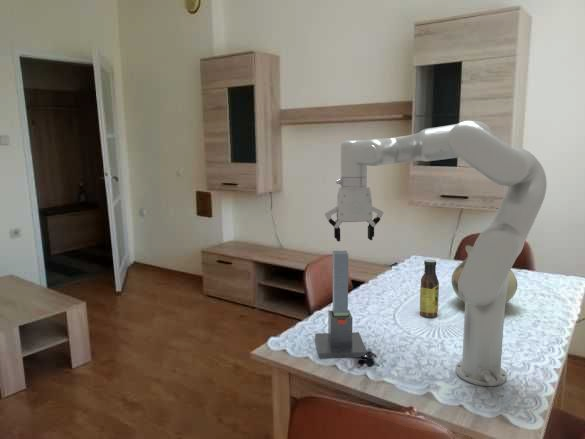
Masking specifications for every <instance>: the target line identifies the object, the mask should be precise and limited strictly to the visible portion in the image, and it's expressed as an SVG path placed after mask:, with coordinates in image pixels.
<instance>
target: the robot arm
mask: <svg viewBox="0 0 585 439" xmlns="http://www.w3.org/2000/svg"><path fill="white" fill-rule="evenodd" d="M492 133H493V132H492V130H491V128H490V127H489V126H488V125H487V124H486V123H484V122H482V121H480V120H479V121H478V120H469V119H468V120H462V121H460V122H458V123H455V124H449V125H443V126H437V127H428V128H424V129H422V130H420V131H419V132H417V133H413V134H409V135H404V136H403V135H402V136H396V137H390V138H389V137H388V138H371V139H365V140H363V139H350V140H349V139H348V140H344V141H342V142H341V144H340V178H337V179H335V184H336V185H340V187H338V191H337V199H336V206H335V207H334V208H332V209H330V210H328V211H326V212H325V213H324V216H325V217H326V220H327V221H328V223H329V224H330V225H331V226H333V227H334V228H333V232H334V234H333V236H334V239H336V241H337V242H341V228H340V226H341V225H342V224H343V223H361V222H363V223H365V222H367V223H368V225H367V239H368V240H369V241H373V238H374V237H375V228H376V225H378V223H379V222H380V220H381V219H382V217H383V215H384V211H382V210H381V209H379V208H377V207H374V206H373V202H372V201H373V199H372V192H371V187H369V186H368V166H369V167H379V166H385V165H386V166H387V165H393V164H399V163H400V164H402V163H409V162H417V161H419V162H421V161H422V162H432V161H433V162H434V161H440V160H448V159H449V160H450V159H458V158H460V159H461V160H463V162H465V163H466V164H468V165H469V166H470V167H472V168H473V169H475V170H476V171H477V172H479V173H480V174H482V176H484V177H486V178H487V179H489V180H490V181H492V182H493V183H495V184H496V185H497V184H498V185H500V186H505V187H507V188H506V192H505V194H504V196H503V198H502V200H501V202H500V205H499V207H498V209H497V212H496V213H495V216H494V218H493V219H492V222H490V225H489V226H487V227H486V228H485V229H484V230H482V232H481V233H480V234H479V235H478V237H477V238H476V240H475V242H474V244H473V248H472V250H471V252H470V255H469V257H468V259H467V261H466V263H465V266H464V268H463V270H462V272H461V274H460V277H459V280H458V289H459V293H460V295H461V296H462V298H463V299H464V300H465V301H466V303H465V306H464V315H463V316H464V318H463V319H464V320H463V335H462V336H463V338H462V339H463V340H462V354H461V356H462V358H461V361H459V362H458V363H457V364H455V373H456V374H457V376H458V377H459V378H460V379H462V380H464V381H465V382H467V383H470V384H473V385H476V386H483V387H496V386H499V385H502V384H504V383H505V382H506V381H507V379H508V378H507V377H508V375H507V372H506V371H505V370H504V368H502V355H503V354H502V353H503V340H504V338H503V337H504V336H503V335H504V325H505V324H504V322H505V310H506V304H505V302H506V295H507V288H508V274H509V272H510V270H512V268H513V266H514V264H515V262H516V260H517V258H518V257H519V256H520V254H521V253H522V250H523V249H524V246H525V243H526V240H527V239H528V236H529V233H530V231H531V229H532V228H533V225H534V224H535V220H536V218H537V216H538V215H539V211H540V210H541V207H542V204H543V203H544V200H545V197H546V192H547V176H546V172H545V169H544V166H543V165H542V164H541V162H540V161H539V159H538V158H537V157H536V156H534V154H532V153H531V152H530V151H528V150H526V149H524V148H520V147H512V146H510V145H509V144H507V143H506V142H505V141H502V140H501V139H499V138H498V137H496V136H495V135H494V134H492ZM335 213H336V220H335V221H334V219H333V218H332V216H333V215H335ZM373 213H375V214H376V215H375V217H374V218H373V216H374V214H373Z"/></svg>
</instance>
